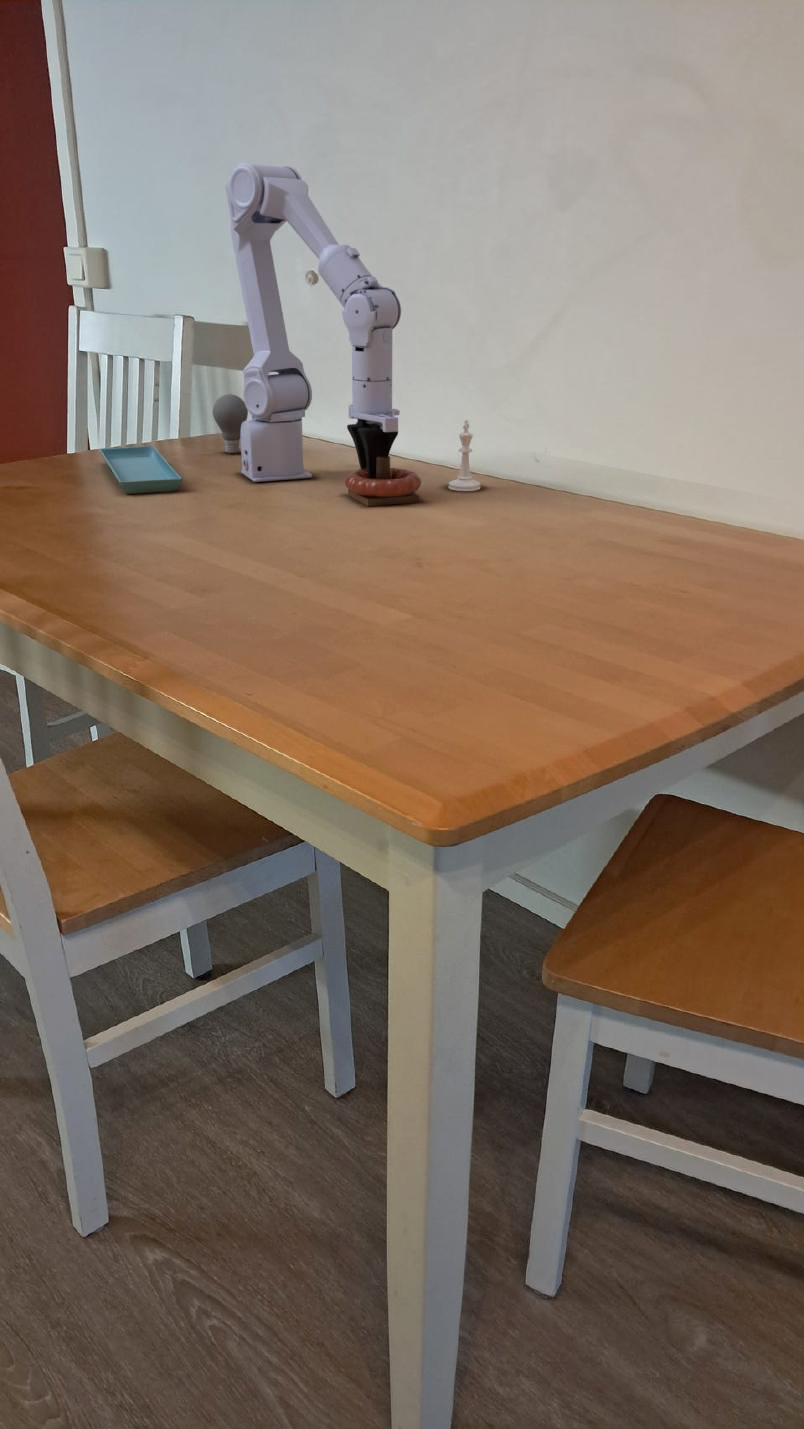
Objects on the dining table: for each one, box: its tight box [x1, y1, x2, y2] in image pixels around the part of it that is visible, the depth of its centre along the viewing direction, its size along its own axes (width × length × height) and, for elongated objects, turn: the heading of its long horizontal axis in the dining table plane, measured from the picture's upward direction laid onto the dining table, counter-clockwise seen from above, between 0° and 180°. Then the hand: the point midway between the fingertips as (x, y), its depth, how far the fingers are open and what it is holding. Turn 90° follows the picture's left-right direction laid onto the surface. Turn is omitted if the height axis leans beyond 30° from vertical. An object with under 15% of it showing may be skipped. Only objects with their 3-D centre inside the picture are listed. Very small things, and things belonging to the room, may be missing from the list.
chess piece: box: [447, 419, 482, 492], centre depth 160 cm, size 5×5×10 cm
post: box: [347, 455, 420, 507], centre depth 154 cm, size 8×8×6 cm
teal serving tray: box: [99, 445, 183, 495], centre depth 167 cm, size 26×9×2 cm, turn 21°
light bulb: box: [212, 393, 249, 455], centre depth 185 cm, size 6×6×10 cm
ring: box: [344, 467, 422, 497], centre depth 154 cm, size 11×11×2 cm
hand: (372, 474), depth 158 cm, fingers closed on ring, 2 cm apart
